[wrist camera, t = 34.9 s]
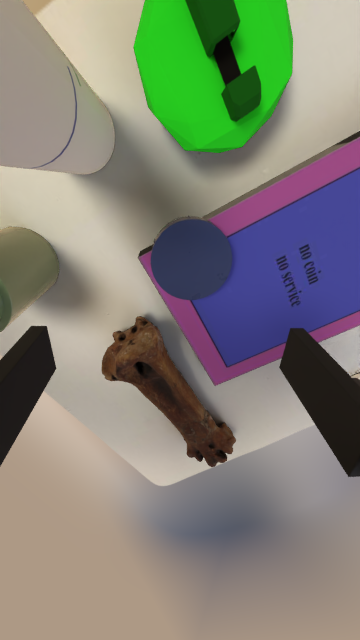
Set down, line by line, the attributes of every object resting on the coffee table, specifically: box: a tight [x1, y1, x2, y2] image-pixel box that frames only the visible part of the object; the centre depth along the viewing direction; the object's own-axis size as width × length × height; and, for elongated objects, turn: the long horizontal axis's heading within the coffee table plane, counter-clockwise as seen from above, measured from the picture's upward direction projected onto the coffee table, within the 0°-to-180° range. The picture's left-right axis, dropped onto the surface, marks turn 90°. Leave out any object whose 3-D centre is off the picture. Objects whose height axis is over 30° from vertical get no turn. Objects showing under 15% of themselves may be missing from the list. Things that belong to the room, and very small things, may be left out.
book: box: [138, 131, 360, 386], centre depth 32 cm, size 21×3×30 cm
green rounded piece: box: [133, 0, 293, 153], centre depth 19 cm, size 12×12×11 cm
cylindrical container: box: [0, 0, 115, 174], centre depth 14 cm, size 7×7×25 cm
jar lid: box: [150, 216, 232, 300], centre depth 28 cm, size 8×8×2 cm
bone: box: [102, 316, 236, 467], centre depth 38 cm, size 9×8×30 cm
